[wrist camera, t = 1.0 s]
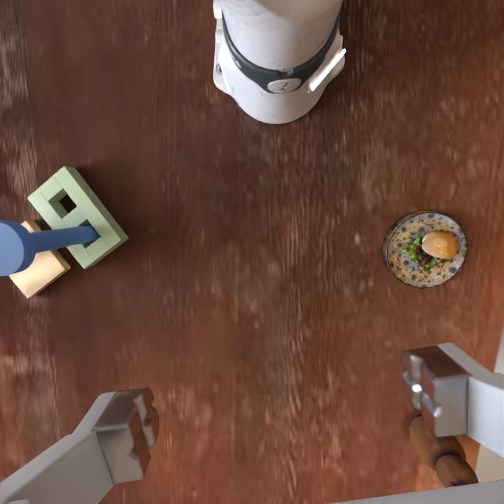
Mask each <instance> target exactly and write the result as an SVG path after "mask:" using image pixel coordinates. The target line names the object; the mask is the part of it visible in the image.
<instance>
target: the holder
mask: <svg viewBox="0 0 504 504" xmlns="http://www.w3.org/2000/svg"><path fill="white" fill-rule="evenodd" d="M67 194H68V195H69V196H70V198H71V199H72V200H73V201H74V203H75V204H76V205H77V207H76V208H75V209H74V210H72V211H71V212H70V213H69V214H68V212H67V211H66V210H65V209H64V207H63V206H62V205H61V203H60V202H59V201H60V200H61V199H62V198H64V197H65V196H66V195H67ZM28 199H29V201H30V202H31V203H32V204H33V206H34V207H35V208H36V209H37V211H38V212H39V213H40V214H41V216H42V217H43V218H44V219H45V221H46V222H47V223H48V224H49V226H50V227H51V228H52V230H55V229H63V228H71V227H79V226H87V225H88V224H90V223H91V225H92V226H93V227H94V228H95V230H96V231H97V232H98V234H99V235H100V236H101V237H100V238H98V239H97V240H96V241H95V242H93V243H91V242H86V243H81V244H77V245H72V246H67V248H68V250H69V251H70V252H71V253H72V255H73V256H74V257H75V258H76V260H77V261H78V262H79V263H80V265H81V266H82V267H83V268H84V269H86V268H88V267H91V266H94V265H95V264H96V263H98V262H99V261H100V260H101V259H103V258H104V257H105V256H107V255H108V254H109V253H111V252H112V251H113V250H114V249H116V248H117V247H118V246H120V245H121V244H122V243H124V242H125V241H126V240H127V239H129V238H128V236H127V235H126V234H125V232H124V231H123V230H122V229H121V227H120V226H119V225H118V223H117V222H116V221H115V219H114V218H113V217H112V216H111V214H110V213H109V212H108V210H107V209H106V208H105V206H104V205H103V204H102V203H101V201H100V200H99V199H98V197H97V196H96V195H95V193H94V192H93V191H92V190H91V188H90V187H89V186H88V184H87V183H86V182H85V180H84V179H83V178H82V177H81V175H80V174H79V173H78V171H77V170H76V169H75V168H72V167H66V166H64V167H63V168H61V169H60V170H59V171H58V172H57V173H56V174H54V175H53V176H52V177H51V178H50V179H49V180H48V181H46V182H45V183H44V184H43V185H42V186H41V187H39V188H38V189H37V190H36V191H35V192H34V193H32V194H31V195H30V196H29V197H28Z"/></svg>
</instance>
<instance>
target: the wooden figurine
mask: <svg viewBox="0 0 504 504" xmlns="http://www.w3.org/2000/svg"><path fill="white" fill-rule="evenodd" d="M409 433H410V439H411V443H412V447H413V448H414V450H415V452H416V453H417V455H418V456H419V457H420V458H421V459H422V460H423V461H424V462H425V463H426V464H427V465H428V466H429V467H430V468H432V469H433V470H435V471H436V473H437V476H438V478H439V480H440V481H441V483H442V484H443V485H444V487H445V488H447V487H454V486H461V485H468V484H475V483H478V479H477V476H476V474H475V473H474V471H473V470H472V468H471V467H470V465H469V464H468V463H467V462H466V456H465V452H464V450H463V447H462V446H461V444H460V442H459V441H458V440H457V439H456V437H455V436H454V435H452V436H443V437H435V435H434V434H433V433H432V431H431V430H430V429H429V427H428V426H427V425H426V423H425V422H424V421H423V419H422V416H419V417H416V418H415V419H413V421H412V422H411V424H410V427H409Z"/></svg>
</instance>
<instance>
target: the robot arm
mask: <svg viewBox="0 0 504 504" xmlns="http://www.w3.org/2000/svg"><path fill="white" fill-rule="evenodd" d="M342 1H343V0H213V8H214V16H215V18H216V19H217V29H216V45H215V60H214V75H213V78H214V83H215V85H216V87H217V88H219V89H220V90H222V91H223V92H225V93H227V94H229V95H231V96H232V97H233V98H234V99H235V100H236V102H237V103H238V104H239V106H240V107H241V108H242V109H243V110H244V111H245V112H246V113H247V114H249V115H250V116H251V117H253V118H255V119H257V120H259V121H262V122H265V123H270V124H282V123H288V122H291V121H294V120H296V119H298V118H300V117H302V116H303V115H305V114H306V113H307V112H309V111H310V110H311V109H312V108H313V107H314V105H315V104H316V103H317V102H318V100H319V99H320V97H321V95H322V93H323V91H324V89H325V87H326V86H327V84H328V83H329V82H330V81H331V80H332V79H334V78H335V77H336V76H337V75H338V74H339V73H340V72H341V71H342V69H343V67H344V64H345V57H344V53H345V51H346V50H345V49H344V50H343V49H342V42H343V36H341V35H340V33H339V28H338V27H339V22H340V15H341V4H342ZM220 69H222V72H220ZM401 363H402V364H403V366H404V367H405V370H404V371H403V373H402V374H401V378H402V386H403V389H404V392H405V395H406V397H407V399H408V400H409V402H410V403H411V405H412V406H413V407H415V408H416V409H418V410H420V411H422V419H423V421H424V422H425V423H426V425H427V426H428V427H429V429H430V430H431V431H432V433H433V434H434V435H435V437H443V436H452V435H461V434H467V436H469V437H471V438H472V439H474V440H475V441H477V442H479V443H480V444H482V445H484V446H485V447H487V448H488V449H490V450H491V451H493V452H495V453H496V454H498V455H499V456H501V457H502V458H504V375H503V374H501V373H492V372H490V371H489V370H488V369H486V368H485V367H484V366H482V365H481V364H480V363H479V362H477V361H476V360H475V359H473V358H472V357H471V356H469V355H468V354H467V353H465V352H464V351H463V350H462V349H460V348H459V347H458V346H456V345H455V344H453V343H450V342H449V343H444V344H438V345H434V346H429V347H423V348H416V349H410V350H404V351H402V352H401ZM153 399H154V398H153V394H152V391H151V389H149V388H141V389H132V390H124V391H118V392H110V393H103V394H101V395H99V397H98V398H97V400H96V401H95V402H94V404H93V405H92V407H91V408H90V410H89V411H88V412H87V414H86V415H85V417H84V418H83V420H82V421H81V422H80V424H79V425H78V427H77V428H76V430H75V431H74V432H73V434H71V435H66V436H65V437H64V438H62V439H61V440H59V441H58V442H57V443H55V444H54V445H53V446H51V447H50V448H48V449H47V450H46V451H44V452H43V453H41V454H40V455H39V456H37V457H36V458H34V459H33V460H32V461H30V462H29V463H27V464H26V465H25V466H23V467H22V468H20V469H19V470H18V471H16V472H15V473H13V474H12V475H11V476H9V477H8V478H6V479H5V480H4V481H2V482H1V483H0V504H98V503H99V502H100V501H101V500H102V499H103V497H104V496H105V495H106V494H107V493H108V492H109V490H110V489H111V488H112V487H113V484H116V483H122V482H127V481H133V480H139V479H143V478H144V475H145V472H146V469H147V466H148V463H149V461H150V458H151V456H150V452H149V450H150V449H151V448H152V447H153V446H154V445H155V443H156V440H157V437H158V432H159V416H158V412H157V410H156V409H155V408H154V407H153V406H151V404H152V401H153ZM330 504H504V480H497V481H490V482H483V483H475V484H468V485H461V486H454V487H447V488H439V489H432V490H425V491H418V492H410V493H403V494H396V495H388V496H381V497H374V498H366V499H359V500H352V501H344V502H337V503H330Z"/></svg>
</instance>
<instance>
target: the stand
mask: <svg viewBox="0 0 504 504" xmlns="http://www.w3.org/2000/svg"><path fill="white" fill-rule="evenodd" d="M21 225H22V226H24V227H25V228H26V229H27V230H28V231H29V233H31V232H39V231H41V229H40V228H39V227H38V226H37V224H36V223H35V222H34V221H33V220H28V221H25V222H24V223H22V224H21ZM70 268H71V267H70V266H69V264H68V263H67V262H66V261H65V259H64V258H63V257H62V256H61V254H60V253H59V252H58V251H57V249H53V250H49V251H44V252H39V253H36V254H35V258H34V261H33V263H32V264H31V265H30V266H29V267H28V268H27V269H26V270H24V271H22V272H18V273H15V274H11V275H9V277H10V278H11V279H12V280H13V281H14V283H15V284H16V285H17V286H18V287H19V289H20V290H21V291H22V292H23V293H24V295H25V296H26V297H27V298H28V299H29V298H31V297H34V296H36V295H37V294H38V293H39V292H41V291H42V290H43V289H45V288H46V287H47V286H48V285H50V284H51V283H52V282H54V281H55V280H56V279H57V278H59V277H60V276H61V275H63V274H64V273H65V272H66V271H68V270H69V269H70Z"/></svg>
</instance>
